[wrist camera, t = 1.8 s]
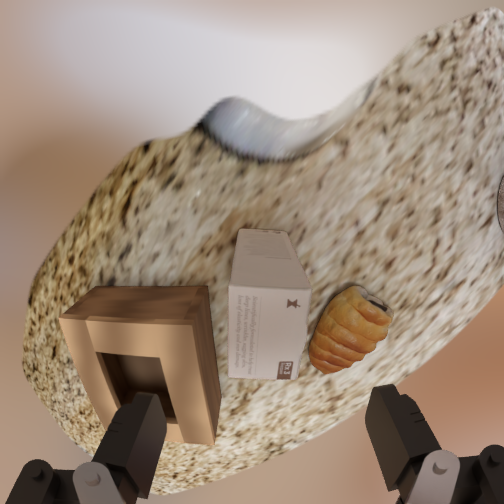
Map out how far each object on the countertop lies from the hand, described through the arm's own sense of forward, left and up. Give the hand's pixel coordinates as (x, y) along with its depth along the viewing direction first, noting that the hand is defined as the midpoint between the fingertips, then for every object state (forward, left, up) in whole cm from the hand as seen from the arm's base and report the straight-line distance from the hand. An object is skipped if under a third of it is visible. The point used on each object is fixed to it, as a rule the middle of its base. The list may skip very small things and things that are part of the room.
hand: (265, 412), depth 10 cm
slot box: (+11, +9, -17) cm, 22 cm away
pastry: (-9, +7, -18) cm, 21 cm away
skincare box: (0, 0, -18) cm, 18 cm away
